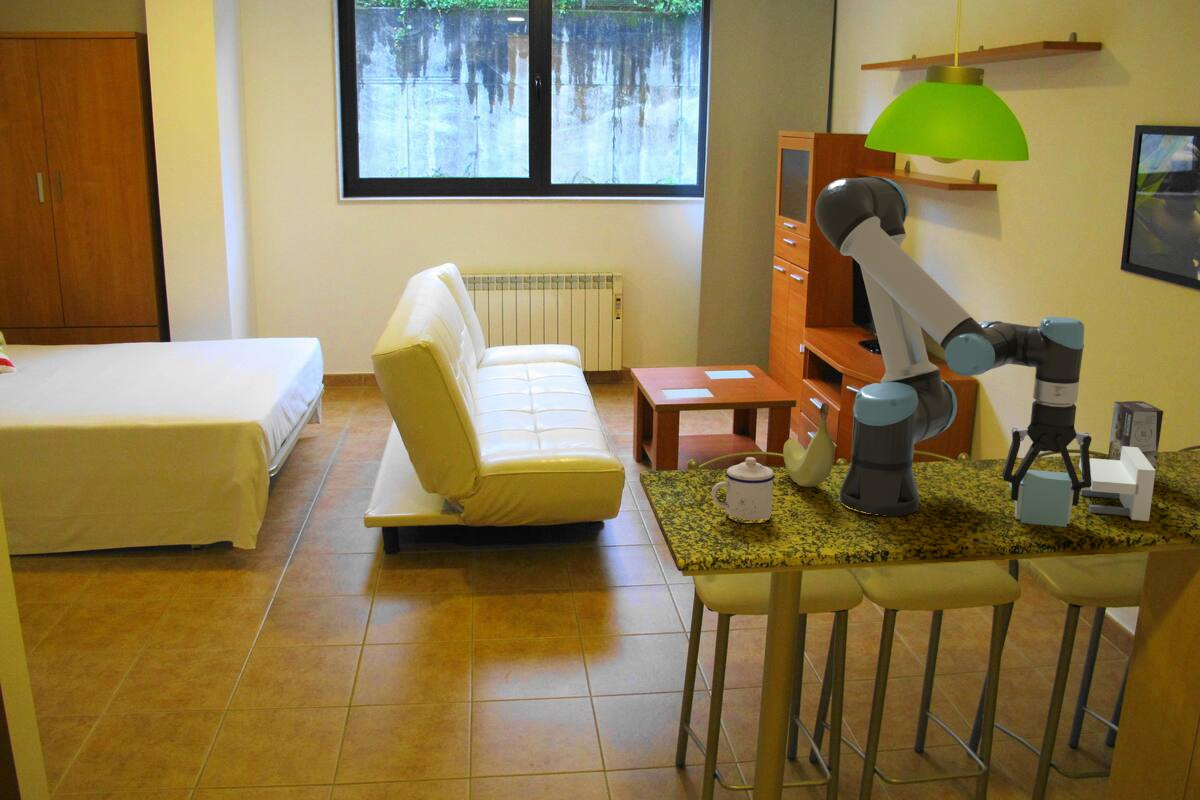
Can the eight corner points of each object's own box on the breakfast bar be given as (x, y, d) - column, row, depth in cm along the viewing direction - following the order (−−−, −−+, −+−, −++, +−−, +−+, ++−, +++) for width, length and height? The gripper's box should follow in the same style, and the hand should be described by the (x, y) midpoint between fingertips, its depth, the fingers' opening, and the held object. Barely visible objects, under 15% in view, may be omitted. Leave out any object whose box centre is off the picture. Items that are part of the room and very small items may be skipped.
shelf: (1088, 515, 208) (1094, 465, 206) (1076, 490, 223) (1081, 443, 221) (1148, 521, 206) (1155, 470, 203) (1132, 494, 221) (1138, 447, 218)
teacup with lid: (762, 507, 212) (764, 450, 210) (780, 523, 204) (782, 463, 201) (703, 511, 210) (705, 453, 207) (719, 528, 201) (721, 467, 198)
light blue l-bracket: (1066, 526, 203) (1071, 480, 200) (1020, 522, 205) (1025, 477, 202) (1050, 488, 224) (1055, 446, 222) (1009, 485, 226) (1013, 443, 224)
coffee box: (1155, 486, 226) (1165, 411, 222) (1123, 486, 226) (1133, 410, 222) (1134, 472, 235) (1144, 400, 231) (1104, 472, 235) (1113, 400, 231)
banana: (775, 469, 236) (779, 379, 231) (800, 468, 237) (805, 378, 232) (808, 503, 214) (814, 405, 210) (837, 502, 215) (843, 404, 210)
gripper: (996, 402, 200) (985, 520, 205) (1119, 410, 194) (1105, 531, 200) (993, 393, 207) (982, 507, 212) (1112, 401, 201) (1098, 517, 207)
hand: (1042, 518), depth 206 cm, fingers closed on light blue l-bracket, 8 cm apart
